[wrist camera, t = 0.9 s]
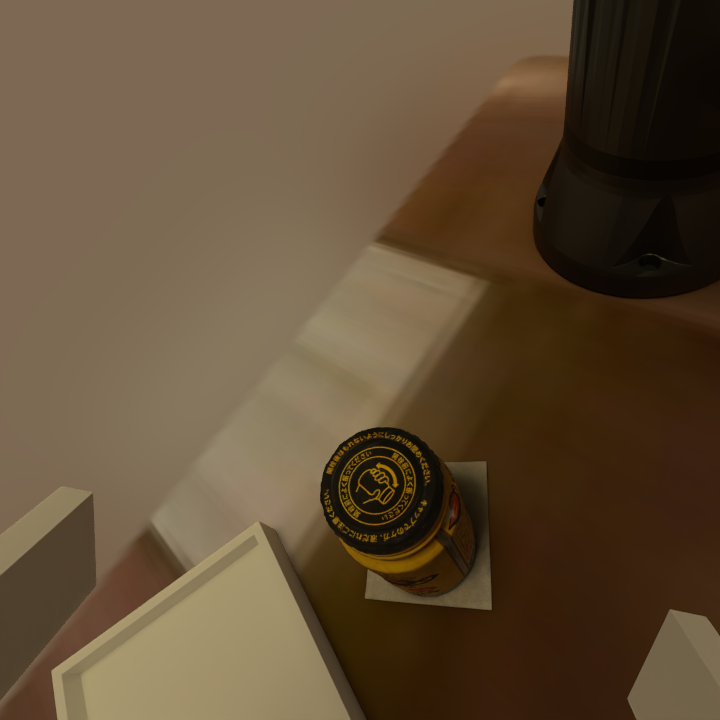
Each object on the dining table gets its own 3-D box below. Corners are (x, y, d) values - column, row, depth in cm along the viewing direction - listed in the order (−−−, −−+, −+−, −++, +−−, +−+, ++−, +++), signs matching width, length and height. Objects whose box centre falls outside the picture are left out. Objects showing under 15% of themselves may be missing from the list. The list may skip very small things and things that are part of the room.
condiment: (365, 599, 28) (284, 565, 18) (377, 462, 32) (317, 376, 23) (492, 610, 26) (475, 579, 16) (486, 463, 30) (471, 368, 21)
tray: (275, 529, 32) (258, 520, 30) (387, 763, 24) (375, 772, 22) (82, 670, 30) (51, 670, 28) (132, 970, 22) (93, 1000, 20)
